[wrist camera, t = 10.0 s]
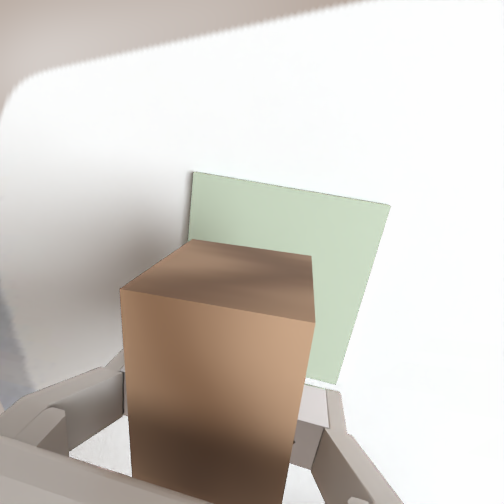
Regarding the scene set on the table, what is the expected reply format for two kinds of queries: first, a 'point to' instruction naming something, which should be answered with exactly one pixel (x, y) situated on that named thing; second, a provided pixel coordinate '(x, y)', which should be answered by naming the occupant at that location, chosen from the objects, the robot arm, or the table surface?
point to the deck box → (217, 369)
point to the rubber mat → (299, 247)
